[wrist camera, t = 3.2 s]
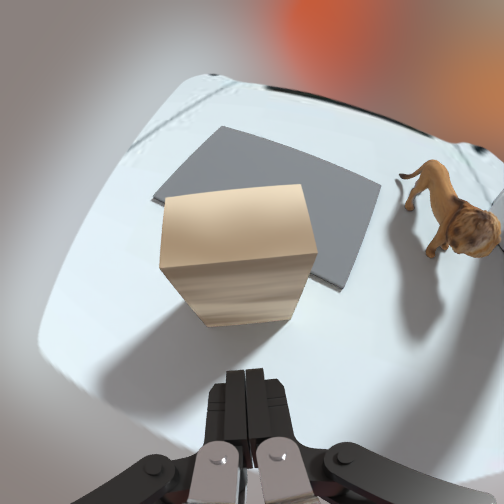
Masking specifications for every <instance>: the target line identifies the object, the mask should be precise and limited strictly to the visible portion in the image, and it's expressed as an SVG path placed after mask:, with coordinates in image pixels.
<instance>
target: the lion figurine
mask: <svg viewBox="0 0 504 504" xmlns="http://www.w3.org/2000/svg"><path fill="white" fill-rule="evenodd" d="M420 173H421V175H420V178H419V179H418V180H417V181H416V183H415V188H414V189H412V190H411V192H410V195H409V197H408V199H407V201H406V203H405V208H406V209H407V210H408V211H413V210H414V205H413V201H414V198H415V196H416V195H417V194H419V193H421V192H422V191H424V190H425V189H427V188H428V189H429V191H430V202H431V208H432V211H433V214H434V216H435V218H436V220H437V221H438V223H439V224H440V226H439V229H438V232H437V234H436V235H435V237H434V238H433V240H432V241H431V242H430V244H429V245H428V247H427V249H426V255H427V256H428V257H429V258H433V257H435V251H436V249H437V247H439V246H440V247H441V248H442V249H443V250H447V249H448V247H449V245H450V246H451V247H452V250H454V252H455V253H457V254H461V253H464V254H466V255H468V256H471V257H474V258H480V257H485V256H488V255H489V254H490V253H491V252H492V250H493V249H494V248H495V247H496V245H498V244H499V243H500V242H501V237H500V235H501V230H500V229H501V223H500V221H499V220H498V218H497V217H496V216H495V215H494V214H493V213H492V212H491V211H489V212H487V211H486V210H484V211H483V210H481V209H479V208H477V207H474V206H472V205H471V204H469V202H467V201H465V200H462V199H459V198H458V196H457V194H456V193H455V191H454V189H453V187H452V185H451V182H450V177H449V173H448V171H447V169H446V167H445V166H444V165H442V164H441V163H440V162H438V161H437V160H429V161H427V162H425V163H424V164H423V165H422V166H421V167H420V168H419V169H418V170H416V171H415V172H414V173H412V174H409V175H406V174H399V176H400V177H401V178H402V179H410V178H413V177H415V176H417V175H419V174H420Z"/></svg>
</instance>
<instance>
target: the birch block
mask: <svg viewBox="0 0 504 504" xmlns="http://www.w3.org/2000/svg"><path fill="white" fill-rule="evenodd" d="M317 254H318V251H317V247H316V242H315V238H314V234H313V230H312V226H311V221H310V217H309V213H308V209H307V206H306V202H305V198H304V194H303V190H302V187H301V184H293V185H278V186H265V187H253V188H242V189H232V190H223V191H213V192H205V193H197V194H189V195H181V196H174V197H167V198H165V206H164V216H163V225H162V236H161V249H160V263H159V268H160V270H161V271H162V272H163V274H164V275H165V276H166V278H167V279H168V280H169V281H170V283H171V284H172V285H173V286H174V288H175V289H176V290H177V291H178V293H179V294H180V295H181V296H182V298H183V299H184V300H185V301H186V302H187V304H188V305H189V306H190V307H191V308H192V310H193V311H194V312H195V313H196V314H197V316H198V317H199V318H200V319H201V320H202V321H203V323H204V324H205V325H206V326H207V327H218V326H231V325H243V324H253V323H263V322H273V321H281V320H290V319H291V317H292V315H293V313H294V310H295V308H296V306H297V303H298V301H299V299H300V296H301V294H302V291H303V289H304V287H305V284H306V282H307V279H308V277H309V274H310V272H311V269H312V267H313V264H314V262H315V259H316V256H317Z"/></svg>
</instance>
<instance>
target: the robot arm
mask: <svg viewBox="0 0 504 504" xmlns="http://www.w3.org/2000/svg"><path fill="white" fill-rule="evenodd" d="M489 211H491V212H492V213H493V214H494V215H495V216H496V217H497V218H498V220H499V221H500V223H501V229H500V230H501V235H500V237H501V242H500V243H499V245H500V247H501V248H502V249H503V250H504V189H503V190H502V191H501V193H500V194H499V195H498V196H497V198H496V199H495V200H494V201H493V206H492V207H491V208H490V210H489ZM252 457H253V462H254V467H255V468H259V474H260V480H261V485H262V491H263V496H264V501H265V504H321V503H320V501H319V499H318V497H317V496H319V497H321V498H322V499H323V500H325V501H327V502H329V503H330V504H497V502H496V499H495V498H494V496H492V495H491V494H489V493H485V492H481V491H476V490H473V489H469V488H465V487H462V486H459V485H455V484H452V483H449V482H446V481H443V480H440V479H437V478H434V477H431V476H429V475H426V474H423V473H421V472H418V471H415V470H413V469H410V468H408V467H405V466H403V465H401V464H398V463H396V462H394V461H391V460H389V459H387V458H385V457H383V456H380V455H378V454H376V453H374V452H372V451H370V450H368V449H366V448H364V447H362V446H360V445H358V444H355V443H352V442H342V443H338V444H336V445H334V446H332V447H331V448H330V449H314V448H309V447H306V446H304V445H302V444H300V443H299V442H298V441H297V440H296V438H295V436H294V433H293V428H292V423H291V418H290V413H289V409H288V404H287V399H286V394H285V389H284V386H283V385H282V384H281V383H280V381H279V380H278V379H268V380H264V372H263V368H258V369H247V370H246V378H245V371H244V370H235V371H227V372H226V383H218V384H214V386H213V387H212V389H211V390H210V392H209V398H208V407H207V418H206V428H205V439H204V444H203V446H202V447H201V448H200V449H199V451H198V452H197V453H195V454H194V455H192V456H189V457H186V458H182V459H177V460H172V461H171V460H170V459H168V457H166V456H163V455H159V454H154V455H148V456H146V457H144V458H142V459H141V460H139V461H138V462H137V463H135V464H134V465H132V466H131V467H129V468H128V469H126V470H125V471H123V472H122V473H120V474H119V475H117V476H116V477H114V478H113V479H111V480H110V481H108V482H107V483H105V484H103V485H102V486H100V487H98V488H97V489H95V490H94V491H92V492H90V493H89V494H87V495H85V496H83V497H82V498H80V499H78V500H76V501H75V502H73V503H71V504H246V497H247V469H251V468H253V463H252Z"/></svg>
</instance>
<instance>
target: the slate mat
mask: <svg viewBox="0 0 504 504" xmlns="http://www.w3.org/2000/svg"><path fill="white" fill-rule="evenodd" d="M293 184H301V187H302V190H303V194H304V198H305V202H306V206H307V209H308V213H309V217H310V221H311V226H312V230H313V234H314V238H315V242H316V247H317V251H318V254H317V256H316V259H315V262H314V264H313V267H312V269H311V272H310V273H311V274H313V275H315V276H317V277H319V278H322V279H324V280H326V281H328V282H330V283H332V284H334V285H336V286H338V287H340V288H342V289H343V288H344V287H345V284H346V282H347V280H348V277H349V275H350V272H351V270H352V267H353V265H354V262H355V260H356V257H357V255H358V252H359V249H360V247H361V244H362V241H363V239H364V236H365V233H366V230H367V227H368V225H369V222H370V219H371V216H372V213H373V210H374V207H375V204H376V201H377V198H378V195H379V191H380V188H381V185H380V184H378V183H375V182H373V181H371V180H369V179H367V178H365V177H363V176H360V175H358V174H356V173H354V172H351V171H349V170H347V169H344V168H342V167H340V166H337V165H335V164H333V163H330V162H328V161H325V160H323V159H320V158H318V157H315V156H313V155H310V154H307V153H305V152H302V151H299V150H297V149H294V148H291V147H288V146H285V145H283V144H280V143H277V142H274V141H271V140H268V139H265V138H262V137H258V136H255V135H252V134H249V133H245V132H242V131H239V130H235V129H232V128H228V127H225V126H221V127H220V128H219V129H218V130H217V131H216V132H215V133H214V134H212V135H211V136H210V137H209V138H208V139H207V140H206V141H205V142H204V143H203V144H202V145H201V146H200V147H199V148H198V149H197V150H196V151H195V152H194V153H193V154H192V155H191V156H190V157H189V158H188V159H187V160H186V161H185V162H184V163H183V164H182V165H181V166H180V167H179V168H178V169H177V170H176V171H175V172H174V173H173V174H172V176H171V177H170V178H169V179H168V180H167V181H166V182H165V183H164V184H163V185H162V186H161V187H160V189H159V190H158V191H157V192H156V193H155V194H154V195H153V197H154V198H155V199H157V200H159V201H161V202H163V203H165V198H167V197H174V196H181V195H189V194H197V193H205V192H213V191H223V190H232V189H242V188H253V187H265V186H278V185H293Z"/></svg>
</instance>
